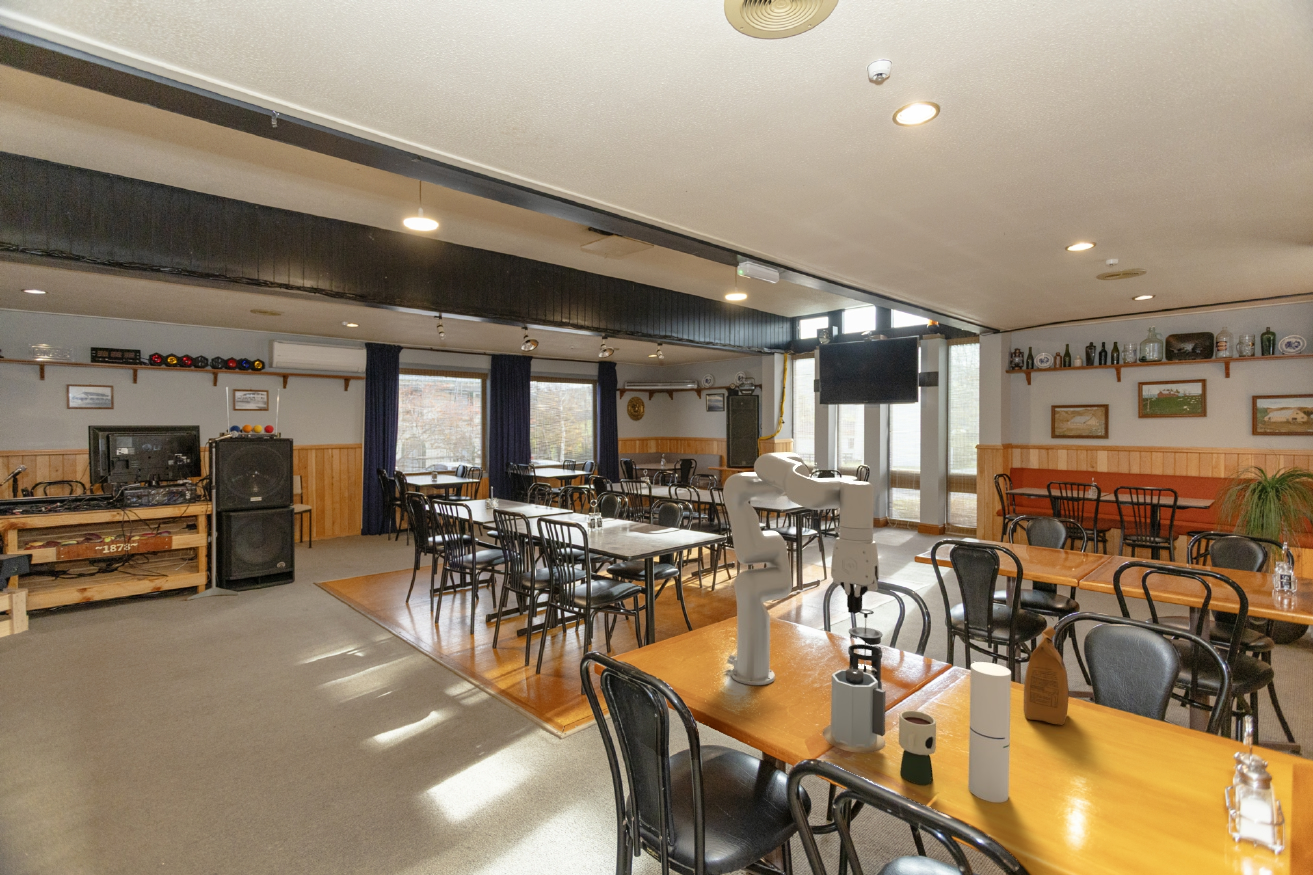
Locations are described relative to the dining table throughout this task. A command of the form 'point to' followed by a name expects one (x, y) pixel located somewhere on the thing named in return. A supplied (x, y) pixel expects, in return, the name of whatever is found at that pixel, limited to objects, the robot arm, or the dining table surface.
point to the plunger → (854, 676)
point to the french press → (870, 638)
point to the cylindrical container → (989, 731)
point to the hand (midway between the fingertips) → (854, 611)
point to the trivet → (874, 748)
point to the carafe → (857, 711)
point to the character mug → (917, 745)
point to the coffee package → (1046, 683)
